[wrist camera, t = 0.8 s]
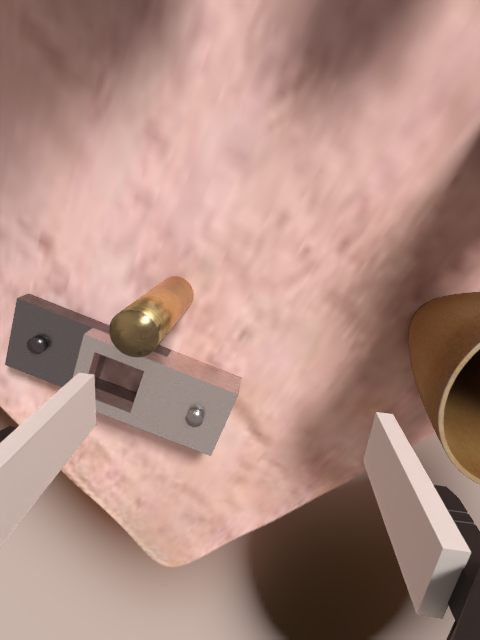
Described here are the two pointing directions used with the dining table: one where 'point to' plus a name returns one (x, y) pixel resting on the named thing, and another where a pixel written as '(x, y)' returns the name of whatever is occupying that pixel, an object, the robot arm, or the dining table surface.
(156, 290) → the pin
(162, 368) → the door bolt
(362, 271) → the dining table surface
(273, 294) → the dining table surface
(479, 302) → the plant pot
